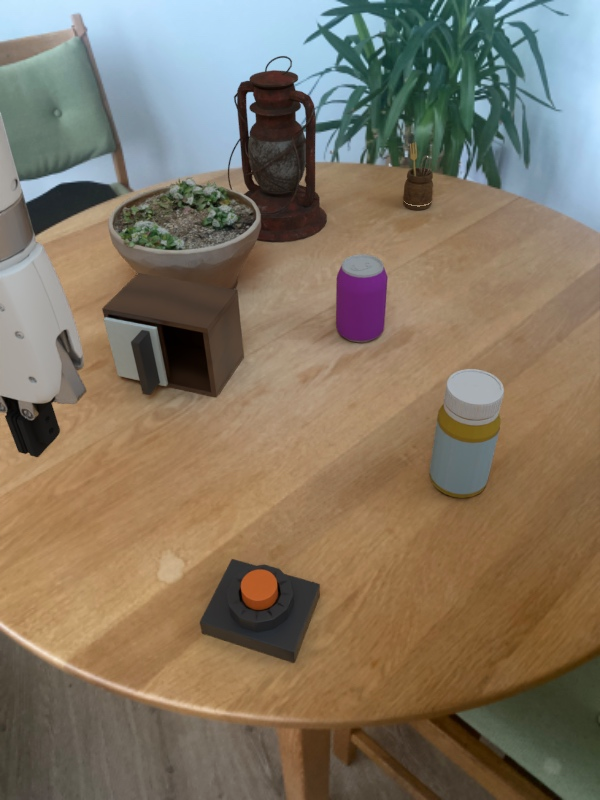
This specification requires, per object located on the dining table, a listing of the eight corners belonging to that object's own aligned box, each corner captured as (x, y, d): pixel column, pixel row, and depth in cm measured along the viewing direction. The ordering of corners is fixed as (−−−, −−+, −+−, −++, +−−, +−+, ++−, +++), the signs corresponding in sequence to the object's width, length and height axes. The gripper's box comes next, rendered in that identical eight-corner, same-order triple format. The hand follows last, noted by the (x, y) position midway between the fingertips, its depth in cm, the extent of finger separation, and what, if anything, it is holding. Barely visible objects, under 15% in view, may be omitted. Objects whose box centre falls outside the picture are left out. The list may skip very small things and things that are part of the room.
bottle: (441, 452, 87) (456, 359, 77) (494, 471, 84) (516, 378, 74) (419, 487, 82) (432, 394, 73) (474, 509, 80) (496, 415, 70)
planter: (188, 237, 133) (177, 163, 123) (292, 272, 122) (289, 193, 112) (90, 296, 117) (69, 217, 108) (200, 342, 106) (187, 258, 97)
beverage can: (372, 313, 111) (376, 248, 104) (391, 339, 106) (397, 272, 98) (329, 322, 110) (329, 256, 102) (345, 349, 104) (347, 281, 96)
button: (236, 604, 67) (234, 594, 66) (250, 575, 69) (249, 565, 68) (270, 614, 66) (269, 604, 65) (283, 584, 68) (282, 574, 67)
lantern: (215, 227, 136) (196, 67, 117) (269, 193, 148) (260, 42, 128) (293, 251, 128) (287, 83, 108) (344, 212, 140) (347, 55, 120)
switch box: (201, 633, 68) (197, 612, 66) (233, 570, 74) (230, 548, 71) (294, 663, 66) (293, 642, 63) (320, 595, 71) (319, 573, 69)
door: (156, 399, 95) (143, 341, 88) (106, 388, 97) (91, 331, 90) (168, 384, 97) (157, 326, 91) (119, 373, 99) (105, 316, 93)
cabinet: (216, 397, 96) (207, 328, 88) (119, 376, 100) (101, 308, 93) (244, 357, 103) (237, 289, 95) (151, 338, 108) (138, 272, 100)
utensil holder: (414, 213, 139) (419, 155, 131) (396, 202, 143) (400, 145, 135) (437, 206, 141) (443, 149, 133) (419, 196, 145) (424, 139, 137)
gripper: (-180, 235, 40) (-71, 452, 52) (31, 279, 37) (96, 502, 49) (-87, 187, 46) (-7, 393, 58) (105, 221, 42) (148, 434, 54)
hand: (40, 442), depth 53 cm, fingers closed
